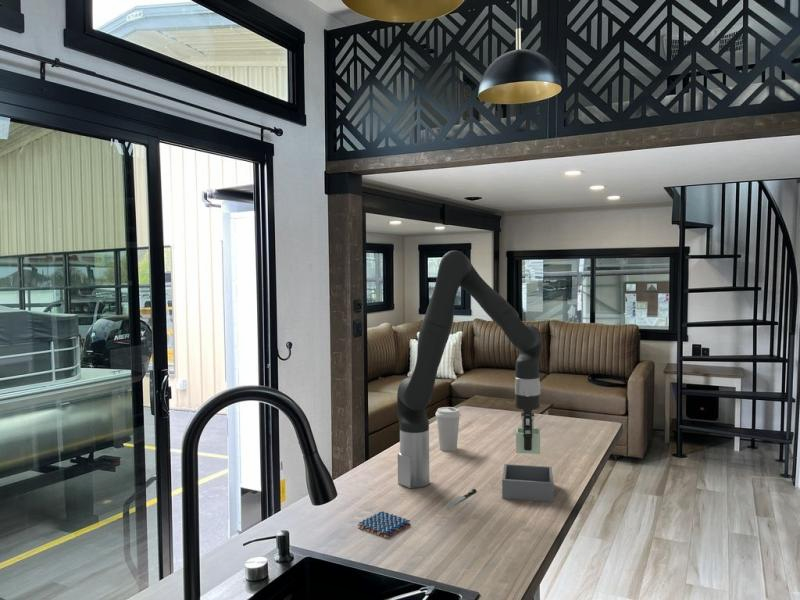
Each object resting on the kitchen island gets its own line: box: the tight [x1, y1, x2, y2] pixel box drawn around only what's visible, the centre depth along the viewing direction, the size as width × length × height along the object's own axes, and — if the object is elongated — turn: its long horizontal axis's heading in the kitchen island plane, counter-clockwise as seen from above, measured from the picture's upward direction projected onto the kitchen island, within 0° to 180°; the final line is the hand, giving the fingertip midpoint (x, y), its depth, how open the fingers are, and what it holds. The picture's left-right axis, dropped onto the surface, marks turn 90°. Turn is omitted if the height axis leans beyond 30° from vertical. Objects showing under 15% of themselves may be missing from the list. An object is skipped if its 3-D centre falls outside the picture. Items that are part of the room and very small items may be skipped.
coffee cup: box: [435, 406, 462, 452], centre depth 218 cm, size 10×10×15 cm
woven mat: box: [357, 511, 411, 539], centre depth 152 cm, size 10×11×2 cm
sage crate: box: [515, 427, 541, 455], centre depth 176 cm, size 6×7×6 cm
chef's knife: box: [444, 488, 477, 511], centre depth 169 cm, size 19×1×3 cm
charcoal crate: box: [501, 463, 554, 503], centre depth 176 cm, size 15×15×6 cm
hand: (527, 446), depth 176 cm, fingers closed on sage crate, 6 cm apart
